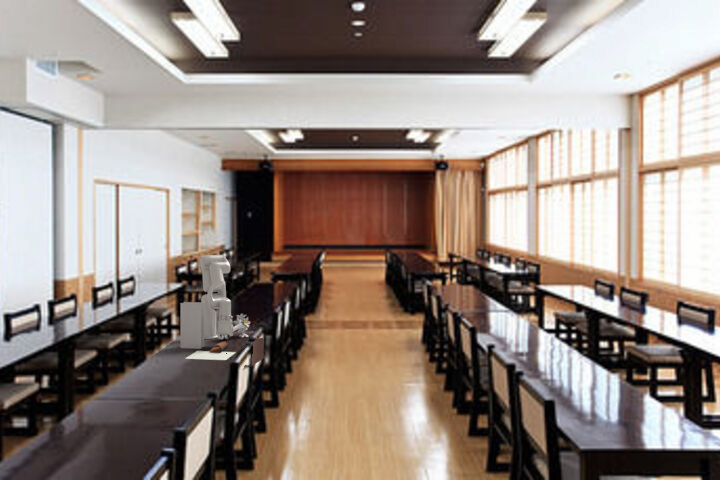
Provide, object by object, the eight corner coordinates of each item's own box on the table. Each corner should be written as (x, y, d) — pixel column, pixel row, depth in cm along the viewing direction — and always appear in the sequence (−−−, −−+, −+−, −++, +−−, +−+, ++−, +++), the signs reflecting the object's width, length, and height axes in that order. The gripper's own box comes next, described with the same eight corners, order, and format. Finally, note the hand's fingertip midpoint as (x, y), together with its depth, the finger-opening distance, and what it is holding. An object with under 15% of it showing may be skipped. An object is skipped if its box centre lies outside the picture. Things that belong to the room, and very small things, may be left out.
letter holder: (263, 358, 347) (264, 336, 346) (251, 366, 327) (251, 343, 327) (248, 357, 349) (248, 335, 348) (235, 365, 329) (235, 342, 328)
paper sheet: (197, 351, 363) (197, 350, 363) (236, 352, 361) (236, 352, 361) (184, 358, 343) (184, 358, 343) (225, 360, 341) (225, 360, 341)
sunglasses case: (215, 345, 376) (220, 337, 376) (224, 351, 376) (229, 342, 376) (208, 352, 358) (214, 343, 358) (218, 357, 358) (223, 348, 358)
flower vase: (226, 350, 393) (254, 336, 410) (223, 327, 386) (251, 314, 404) (215, 344, 401) (243, 330, 418) (212, 322, 394) (240, 309, 412)
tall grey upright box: (204, 346, 375) (204, 302, 374) (201, 348, 369) (201, 303, 368) (183, 346, 376) (183, 302, 375) (180, 347, 371) (180, 303, 370)
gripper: (237, 316, 380) (237, 343, 381) (216, 316, 382) (216, 342, 382) (234, 318, 373) (234, 345, 374) (212, 318, 374) (212, 345, 375)
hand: (225, 344), depth 378 cm, fingers closed
